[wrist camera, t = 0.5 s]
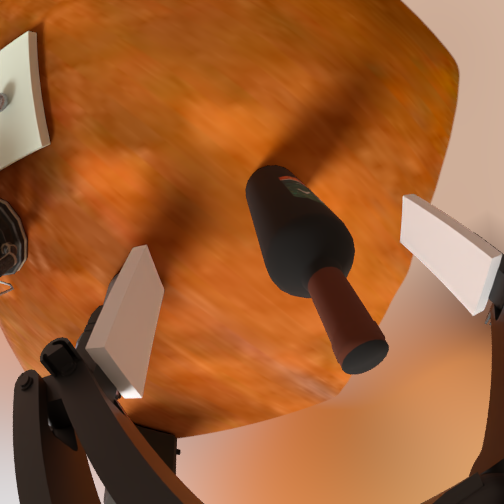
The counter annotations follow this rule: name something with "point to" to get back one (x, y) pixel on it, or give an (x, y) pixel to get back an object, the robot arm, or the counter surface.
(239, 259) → the counter surface
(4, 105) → the steel ball
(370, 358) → the wine bottle
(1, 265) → the lantern
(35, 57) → the board
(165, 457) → the black rectangular block
